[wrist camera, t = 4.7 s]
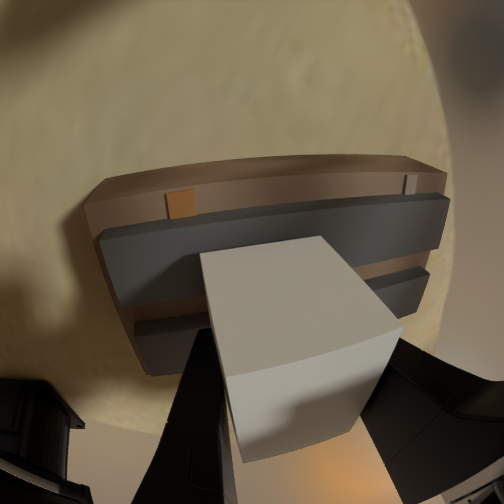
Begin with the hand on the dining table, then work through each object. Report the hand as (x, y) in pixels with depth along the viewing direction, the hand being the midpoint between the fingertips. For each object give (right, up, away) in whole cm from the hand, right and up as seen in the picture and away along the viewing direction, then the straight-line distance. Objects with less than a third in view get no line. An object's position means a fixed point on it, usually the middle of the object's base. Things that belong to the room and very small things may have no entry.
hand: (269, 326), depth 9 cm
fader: (0, +1, +1) cm, 2 cm away
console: (+1, +3, +5) cm, 5 cm away
